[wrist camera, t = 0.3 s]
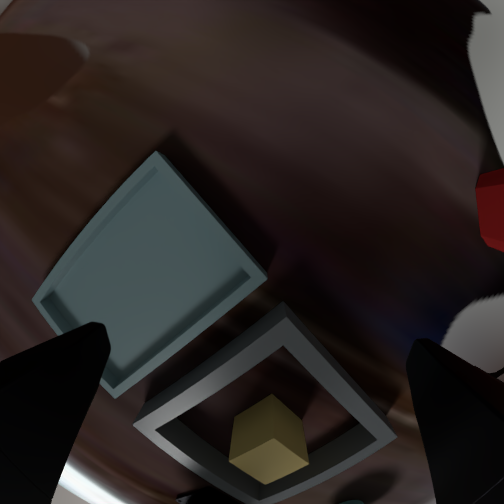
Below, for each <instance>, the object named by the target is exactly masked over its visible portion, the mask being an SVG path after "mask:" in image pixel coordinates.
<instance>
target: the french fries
mask: <svg viewBox="0 0 504 504" xmlns="http://www.w3.org/2000/svg"><path fill="white" fill-rule="evenodd" d="M475 189H476V198H477V207H478V216H479V225H480V233H481V236H482V238H483V239H484V241H485V242H486V244H487V245H488V246H490V247H492V248H495V249H497V250H500V251H502V252H504V168H502V169H498V170H495V171H491V172H487V173H484V174H480V176H479V179H478V182H477V185H476V188H475Z"/></svg>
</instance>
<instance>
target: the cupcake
mask: <svg viewBox="0 0 504 504" xmlns="http://www.w3.org/2000/svg"><path fill="white" fill-rule="evenodd" d="M339 504H364V503H363V502H362V501H360V500H349V501H345V502H342V503H339Z"/></svg>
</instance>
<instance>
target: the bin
mask: <svg viewBox="0 0 504 504" xmlns="http://www.w3.org/2000/svg"><path fill="white" fill-rule="evenodd" d="M283 345H284V346H285V348H286V349H287V350H288V351H289V352H290V353H291V354H292V355H293V356H294V357H295V358H296V359H297V360H298V361H299V362H300V363H301V364H302V365H303V366H304V367H305V368H306V369H307V370H308V371H309V372H310V373H311V375H312V376H313V377H314V378H315V379H316V380H317V381H318V382H319V383H320V384H321V385H322V386H323V387H324V388H325V389H326V390H327V391H328V392H329V393H330V394H331V395H332V396H333V397H334V398H335V399H336V400H337V401H338V402H339V403H340V404H341V405H342V406H343V407H344V408H345V409H346V410H347V411H348V412H349V413H350V414H351V415H352V416H354V417H355V418H356V419H357V420H358V421H359V422H360V423H359V424H358V425H356V426H355V427H353V428H352V429H350V430H349V431H347V432H345V433H344V434H342V435H341V436H339V437H338V438H336V439H334V440H333V441H331V442H329V443H328V444H326V445H324V446H322V447H321V448H319V449H317V450H315V451H314V452H312V453H310V454H308V459H309V464H308V465H306V466H304V467H302V468H300V469H298V470H296V471H294V472H292V473H290V474H288V475H286V476H284V477H282V478H280V479H277V480H275V481H273V482H271V483H268V484H266V485H265V484H263V483H261V482H260V481H258V480H256V479H255V478H253V477H252V476H250V475H249V474H247V473H245V472H244V471H242V470H241V469H239V468H238V467H236V466H235V465H233V464H232V463H230V462H229V458H228V457H226V456H225V455H223V454H222V453H221V452H219V451H218V450H217V449H215V448H214V447H213V446H211V445H210V444H209V443H207V442H206V441H205V440H203V439H202V438H201V437H199V436H198V435H197V434H196V433H194V432H193V431H192V430H191V429H189V428H188V427H187V426H186V425H185V424H183V423H182V422H181V421H180V420H179V419H177V418H176V417H177V416H179V415H180V414H182V413H184V412H185V411H187V410H189V409H190V408H192V407H194V406H195V405H197V404H198V403H200V402H202V401H203V400H205V399H206V398H208V397H209V396H211V395H212V394H214V393H216V392H217V391H219V390H220V389H222V388H223V387H225V386H226V385H228V384H229V383H231V382H232V381H234V380H235V379H237V378H238V377H239V376H241V375H242V374H244V373H245V372H247V371H248V370H250V369H251V368H252V367H254V366H255V365H257V364H258V363H259V362H261V361H262V360H264V359H265V358H266V357H268V356H269V355H271V354H272V353H273V352H275V351H276V350H277V349H279V348H280V347H281V346H283ZM132 425H133V426H134V427H135V428H137V429H138V430H139V431H140V432H141V433H142V434H144V435H145V436H146V437H147V438H149V439H150V440H151V441H152V442H153V443H155V444H156V445H157V446H158V447H160V448H161V449H162V450H164V451H165V452H166V453H168V454H169V455H170V456H172V457H173V458H174V459H176V460H177V461H178V462H180V463H181V464H183V465H184V466H185V467H187V468H188V469H190V470H191V471H193V472H194V473H196V474H197V475H199V476H200V477H202V478H203V479H205V480H206V481H208V482H209V483H211V484H213V485H214V486H216V487H218V488H219V489H221V490H223V491H224V492H226V493H228V494H229V495H231V496H233V497H235V498H236V499H238V500H240V501H242V502H244V503H245V504H274V503H276V502H279V501H281V500H284V499H286V498H289V497H291V496H293V495H296V494H298V493H300V492H302V491H305V490H307V489H309V488H311V487H313V486H315V485H317V484H319V483H321V482H323V481H325V480H327V479H329V478H331V477H333V476H335V475H337V474H339V473H341V472H342V471H344V470H346V469H348V468H350V467H351V466H353V465H355V464H356V463H358V462H360V461H361V460H363V459H365V458H366V457H368V456H370V455H371V454H373V453H374V452H376V451H378V450H379V449H381V448H382V447H384V446H385V445H387V444H388V443H390V442H391V441H392V440H394V439H395V438H397V435H396V433H395V431H394V429H393V427H392V426H391V424H390V422H389V420H388V418H387V416H386V415H385V414H384V413H383V412H382V411H381V410H380V409H379V407H378V406H377V405H376V404H375V403H374V402H373V401H372V400H371V399H370V397H369V396H368V395H367V394H366V393H365V392H364V391H363V390H362V389H361V388H360V386H359V385H358V384H357V383H356V382H355V381H354V380H353V379H352V378H351V376H350V375H349V374H348V373H347V372H346V371H345V370H344V369H343V367H342V366H341V365H340V364H339V363H338V362H337V361H336V360H335V359H334V357H333V356H332V355H331V354H330V353H329V352H328V351H327V350H326V348H325V347H324V346H323V345H322V344H321V343H320V342H319V341H318V340H317V338H316V337H315V336H314V335H313V334H312V333H311V332H310V331H309V329H308V328H307V327H306V326H305V325H304V324H303V323H302V322H301V320H300V319H299V318H298V317H297V316H296V315H295V314H294V313H293V311H292V310H291V309H290V308H289V307H288V306H287V305H286V303H285V302H284V301H282V302H281V303H280V304H278V305H277V306H276V307H275V308H273V309H272V310H271V311H270V312H268V313H267V314H266V315H265V316H263V317H262V318H261V319H259V320H258V321H257V322H256V323H254V324H253V325H252V326H250V327H249V328H248V329H247V330H245V331H244V332H243V333H241V334H240V335H239V336H237V337H236V338H235V339H234V340H232V341H231V342H230V343H228V344H227V345H226V346H224V347H223V348H222V349H220V350H219V351H218V352H216V353H215V354H214V355H212V356H211V357H209V358H208V359H207V360H205V361H204V362H203V363H201V364H200V365H199V366H197V367H196V368H194V369H193V370H192V371H190V372H189V373H187V374H186V375H185V376H183V377H182V378H180V379H179V380H178V381H176V382H175V383H173V384H172V385H170V386H169V387H168V388H166V389H165V390H163V391H162V392H160V393H159V394H157V395H156V396H155V397H153V398H152V399H150V400H149V401H147V402H146V403H144V405H143V407H142V408H141V410H140V412H139V414H138V415H137V417H136V419H135V421H134V422H133V424H132Z"/></svg>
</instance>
